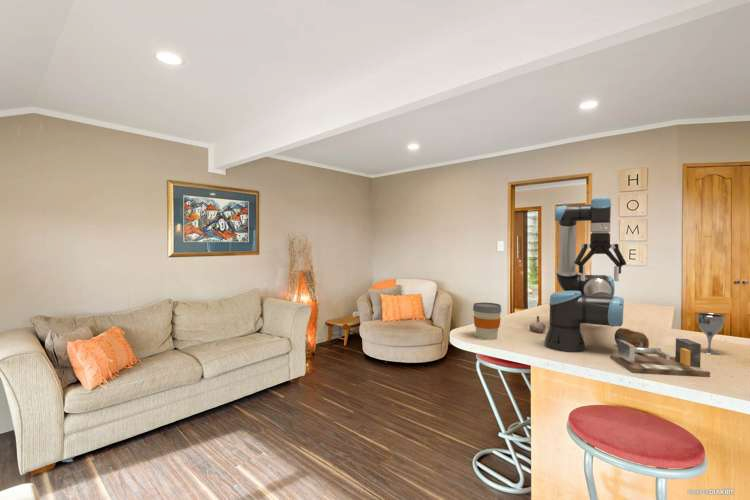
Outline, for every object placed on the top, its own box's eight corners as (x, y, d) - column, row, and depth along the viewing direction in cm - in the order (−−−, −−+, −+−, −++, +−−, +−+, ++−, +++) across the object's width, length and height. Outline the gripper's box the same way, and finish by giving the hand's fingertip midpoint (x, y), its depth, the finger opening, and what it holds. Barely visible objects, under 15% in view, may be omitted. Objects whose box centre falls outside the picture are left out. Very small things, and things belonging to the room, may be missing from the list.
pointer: (686, 365, 122) (686, 350, 122) (680, 362, 125) (680, 348, 125) (690, 365, 122) (690, 350, 122) (684, 362, 125) (684, 348, 125)
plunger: (634, 364, 125) (634, 348, 125) (618, 354, 136) (618, 339, 136) (672, 366, 123) (672, 350, 123) (652, 356, 134) (653, 341, 134)
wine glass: (690, 349, 151) (691, 312, 151) (708, 348, 152) (709, 312, 152) (710, 355, 144) (711, 316, 143) (728, 354, 144) (729, 316, 144)
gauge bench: (632, 372, 124) (633, 344, 124) (610, 357, 140) (610, 333, 140) (709, 376, 120) (710, 348, 120) (678, 361, 136) (678, 335, 136)
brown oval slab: (613, 345, 157) (614, 325, 157) (620, 345, 157) (620, 325, 157) (642, 356, 142) (643, 334, 142) (650, 356, 142) (650, 334, 142)
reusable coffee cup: (471, 333, 177) (471, 302, 177) (498, 334, 176) (498, 302, 175) (474, 340, 165) (474, 306, 165) (503, 341, 163) (504, 307, 163)
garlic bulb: (544, 334, 176) (544, 317, 176) (527, 332, 180) (528, 315, 180) (546, 331, 182) (546, 315, 182) (530, 329, 186) (531, 313, 186)
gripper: (573, 232, 161) (572, 281, 161) (635, 232, 157) (635, 282, 157) (566, 233, 168) (566, 279, 169) (626, 233, 164) (625, 280, 165)
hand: (599, 281), depth 163 cm, fingers open, 13 cm apart
